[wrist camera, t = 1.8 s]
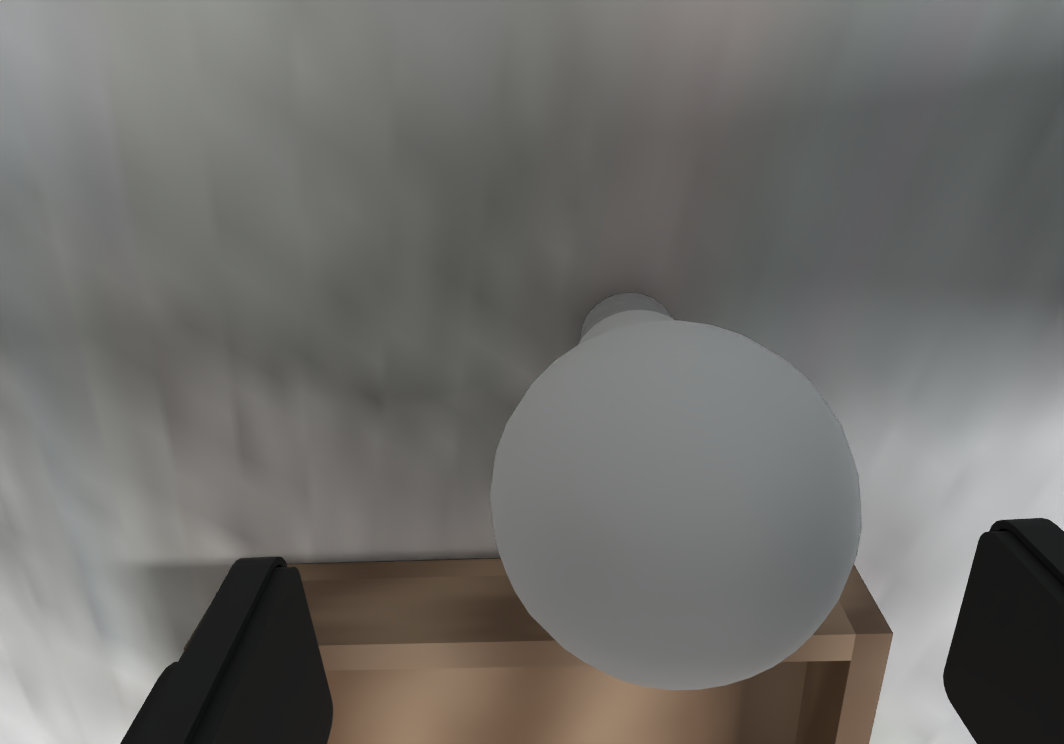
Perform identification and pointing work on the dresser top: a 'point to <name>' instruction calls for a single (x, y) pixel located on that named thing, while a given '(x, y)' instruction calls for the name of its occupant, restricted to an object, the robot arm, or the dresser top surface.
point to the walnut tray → (558, 669)
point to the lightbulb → (674, 501)
